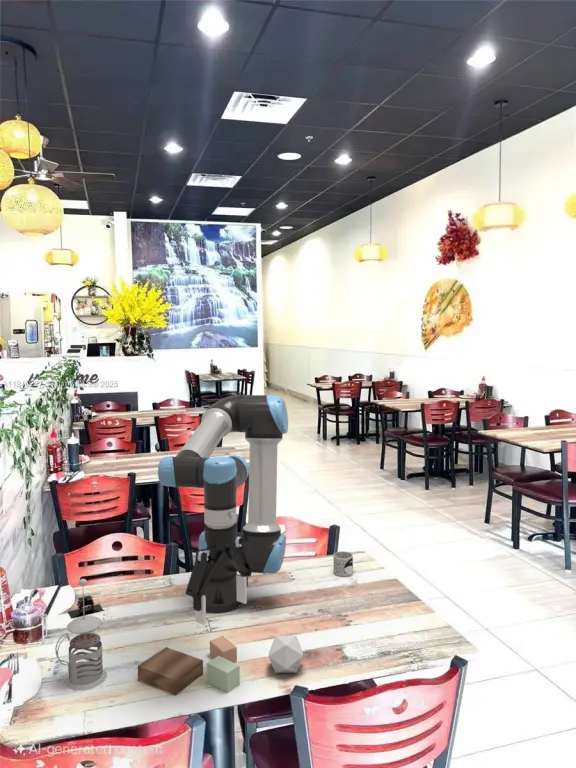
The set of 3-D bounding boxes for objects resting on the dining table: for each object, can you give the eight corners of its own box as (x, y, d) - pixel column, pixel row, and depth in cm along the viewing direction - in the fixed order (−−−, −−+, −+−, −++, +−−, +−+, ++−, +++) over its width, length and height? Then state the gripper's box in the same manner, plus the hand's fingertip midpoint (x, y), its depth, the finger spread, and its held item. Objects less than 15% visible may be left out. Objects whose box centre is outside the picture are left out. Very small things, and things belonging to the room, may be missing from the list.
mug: (347, 578, 203) (347, 559, 202) (330, 574, 206) (330, 556, 206) (359, 568, 212) (359, 550, 211) (342, 565, 215) (342, 547, 214)
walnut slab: (138, 681, 144) (137, 665, 144) (166, 662, 153) (166, 647, 153) (175, 696, 138) (175, 680, 138) (203, 675, 147) (202, 660, 147)
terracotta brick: (209, 655, 156) (209, 640, 155) (223, 650, 158) (222, 635, 158) (223, 667, 150) (223, 652, 150) (236, 662, 152) (236, 647, 152)
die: (291, 687, 142) (312, 647, 145) (259, 665, 144) (280, 627, 146) (290, 679, 151) (310, 642, 153) (260, 659, 152) (280, 623, 154)
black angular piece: (66, 622, 174) (66, 607, 174) (61, 612, 181) (61, 598, 180) (109, 612, 181) (109, 597, 180) (103, 603, 187) (103, 589, 187)
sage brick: (207, 682, 143) (206, 662, 143) (218, 675, 147) (218, 655, 146) (227, 693, 139) (227, 673, 139) (239, 685, 142) (239, 665, 142)
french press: (112, 681, 144) (109, 581, 142) (62, 698, 138) (58, 593, 135) (101, 663, 152) (97, 567, 150) (53, 677, 146) (49, 578, 144)
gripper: (191, 542, 127) (193, 637, 129) (267, 514, 147) (268, 597, 148) (168, 534, 132) (170, 627, 134) (245, 509, 151) (246, 590, 153)
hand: (222, 612), depth 141 cm, fingers open, 13 cm apart
